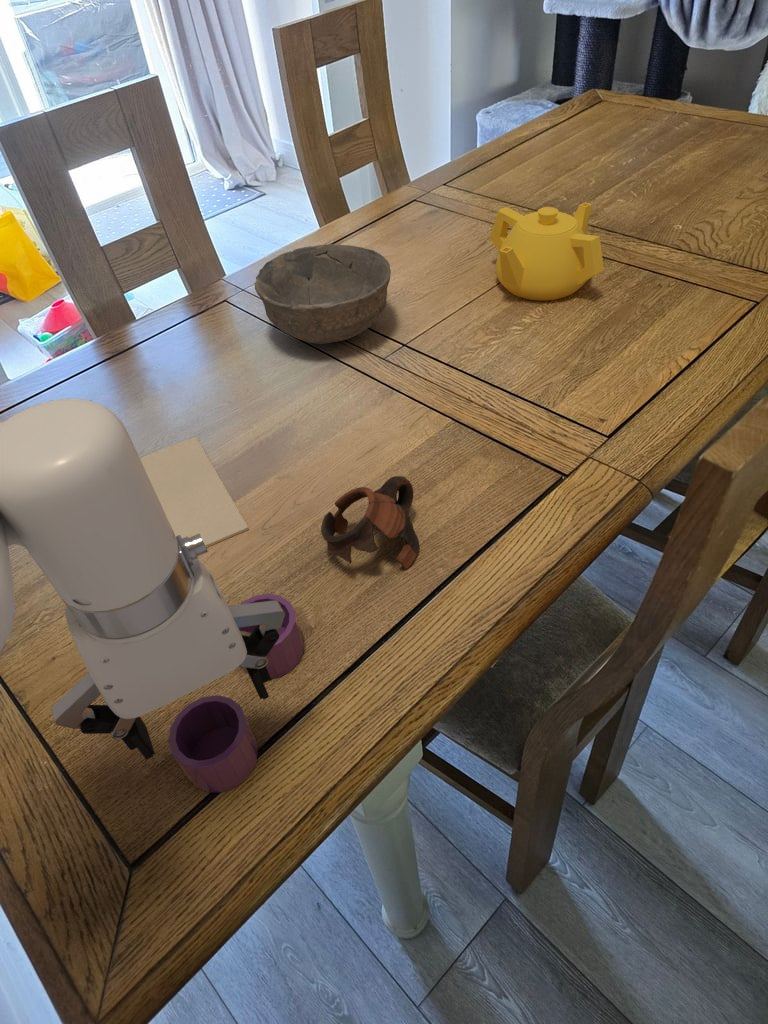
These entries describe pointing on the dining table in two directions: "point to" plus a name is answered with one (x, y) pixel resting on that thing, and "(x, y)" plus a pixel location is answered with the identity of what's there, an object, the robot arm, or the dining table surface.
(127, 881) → the dining table surface
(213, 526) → the placemat
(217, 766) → the purple cup
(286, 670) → the purple hollow cylinder
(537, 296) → the teapot
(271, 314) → the bowl
